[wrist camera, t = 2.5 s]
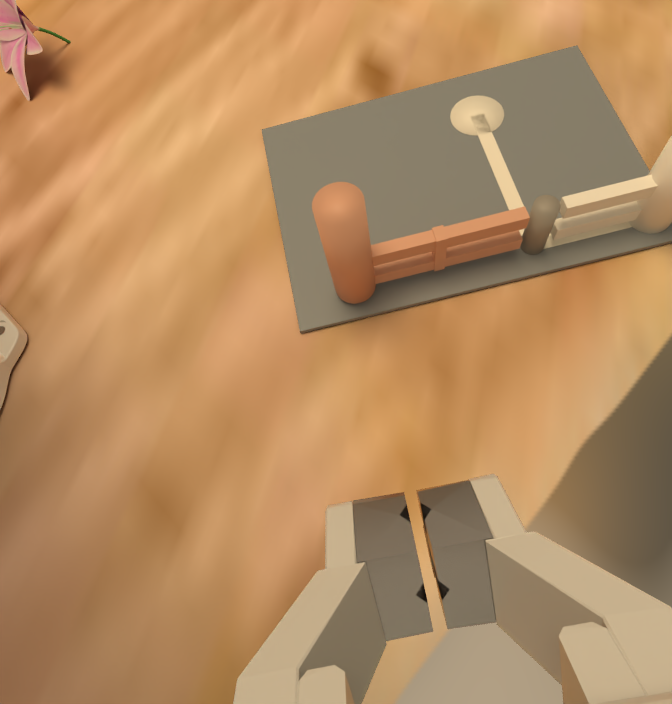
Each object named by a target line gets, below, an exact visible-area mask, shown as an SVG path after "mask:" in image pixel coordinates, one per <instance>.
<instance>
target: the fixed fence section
mask: <svg viewBox="0 0 672 704" xmlns="http://www.w3.org/2000/svg"><path fill="white" fill-rule="evenodd" d="M559 212H560V214H561V216H562V218H558V219H556V218H557V215H558V213H559ZM529 217H530V219H529V222H528V225H527V228H525V229H524V232H523V235H522V239H523V240H522V243H521V246H520V248H521V250H522V251H523V252H525V253H526V254H529V255H536V254H539V253H540V252H542V250H543V249H544V246H545V244H546V242H547V239H548V237H549V234H550V233H551V235H552V238H553V240H556V239H560V238H564V237H568V236H572V235H576V234H580V233H584V232H588V231H592V230H596V229H600V228H604V227H608V226H612V225H617V224H621V223H625V222H629V223H630V225H631V226H632V227H633V228H634V229H636V230H638V231H640V232H643V233H648V234H654V233H659V232H662V231H664V230H665V229H667V228H668V227H669V225H670V224H671V223H672V136H671V138H670V139H669V141H668V142H667V144H666V146H665V147H664V149H663V151H662V152H661V154H660V156H659V157H658V159H657V161H656V162H655V164H654V165H653V167H652V169H651V170H650V172H649V174H648V175H647V176H644V177H640V178H636V179H632V180H628V181H624V182H620V183H616V184H612V185H608V186H604V187H600V188H596V189H592V190H588V191H584V192H580V193H576V194H572V195H568V196H564V197H562V199H561V201H560V202H559V200H558V199H557V198H556V197H554V196H551V195H542V196H539V197H537V198H536V199H535V201H534V203H533V206H532V209H531V212H530V215H529Z"/></svg>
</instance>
